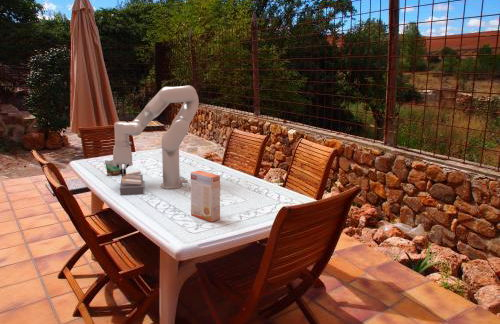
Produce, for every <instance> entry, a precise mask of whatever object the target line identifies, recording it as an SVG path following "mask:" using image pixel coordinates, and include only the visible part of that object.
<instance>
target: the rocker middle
mask: <svg viewBox="0 0 500 324" xmlns="http://www.w3.org/2000/svg"><path fill="white" fill-rule="evenodd" d="M123 179H133V180H141V176H133V175H125V176H123Z"/></svg>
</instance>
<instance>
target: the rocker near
mask: <svg viewBox="0 0 500 324" xmlns="http://www.w3.org/2000/svg"><path fill="white" fill-rule="evenodd" d="M122 183H129V184H141V180H133V179H122Z"/></svg>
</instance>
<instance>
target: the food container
mask: <svg viewBox="0 0 500 324" xmlns="http://www.w3.org/2000/svg"><path fill="white" fill-rule="evenodd" d="M104 165H105V168H106V176H109V177H117V176H121V175H120V169H119V168H118V167H116V166H113V159H112V160H104ZM121 166H122V167H123V164H121Z"/></svg>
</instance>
